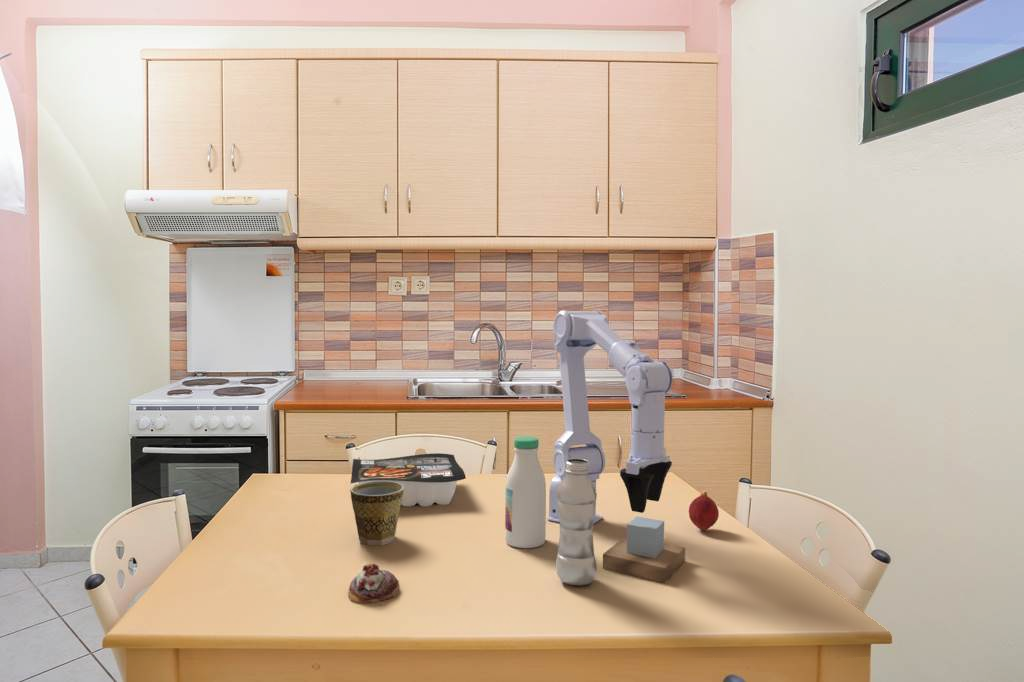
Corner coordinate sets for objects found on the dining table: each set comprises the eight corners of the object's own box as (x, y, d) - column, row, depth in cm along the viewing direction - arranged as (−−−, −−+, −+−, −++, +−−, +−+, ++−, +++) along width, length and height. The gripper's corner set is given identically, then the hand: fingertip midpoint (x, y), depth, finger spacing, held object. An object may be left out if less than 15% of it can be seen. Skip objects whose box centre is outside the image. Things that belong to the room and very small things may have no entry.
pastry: (350, 608, 96) (350, 575, 96) (344, 587, 103) (344, 556, 103) (404, 599, 99) (404, 568, 99) (394, 580, 106) (394, 550, 106)
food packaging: (350, 480, 139) (353, 456, 161) (350, 514, 139) (353, 485, 162) (465, 475, 144) (453, 452, 166) (465, 508, 145) (453, 481, 167)
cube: (626, 552, 112) (627, 524, 112) (636, 543, 116) (636, 516, 116) (654, 558, 110) (655, 529, 109) (663, 549, 114) (664, 521, 114)
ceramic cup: (414, 539, 125) (414, 487, 124) (370, 553, 117) (370, 498, 117) (374, 523, 133) (374, 475, 133) (331, 535, 126) (331, 484, 126)
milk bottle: (551, 538, 126) (552, 436, 124) (536, 552, 119) (537, 444, 117) (515, 532, 129) (516, 432, 128) (498, 545, 122) (499, 440, 121)
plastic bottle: (585, 594, 101) (588, 468, 100) (548, 584, 105) (549, 462, 104) (602, 579, 107) (605, 460, 106) (566, 570, 110) (568, 454, 109)
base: (602, 568, 112) (602, 554, 111) (626, 548, 121) (626, 535, 121) (664, 583, 106) (665, 568, 106) (684, 560, 115) (685, 547, 115)
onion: (719, 536, 127) (720, 496, 127) (689, 534, 129) (690, 494, 128) (716, 527, 133) (717, 488, 133) (687, 524, 134) (688, 486, 134)
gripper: (655, 439, 106) (653, 521, 107) (682, 425, 118) (680, 499, 119) (615, 434, 110) (613, 513, 110) (645, 421, 122) (643, 492, 123)
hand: (645, 505), depth 115 cm, fingers open, 7 cm apart
